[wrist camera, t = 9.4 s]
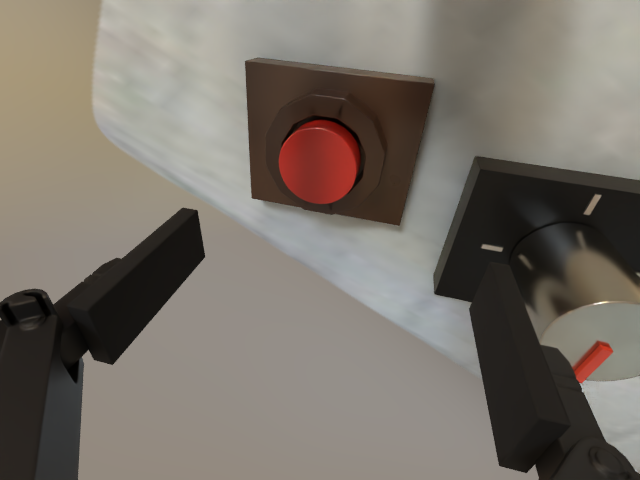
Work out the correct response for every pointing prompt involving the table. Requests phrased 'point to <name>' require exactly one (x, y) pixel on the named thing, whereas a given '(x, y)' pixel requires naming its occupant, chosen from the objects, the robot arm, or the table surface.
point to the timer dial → (581, 299)
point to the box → (348, 111)
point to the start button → (320, 161)
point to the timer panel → (530, 217)
